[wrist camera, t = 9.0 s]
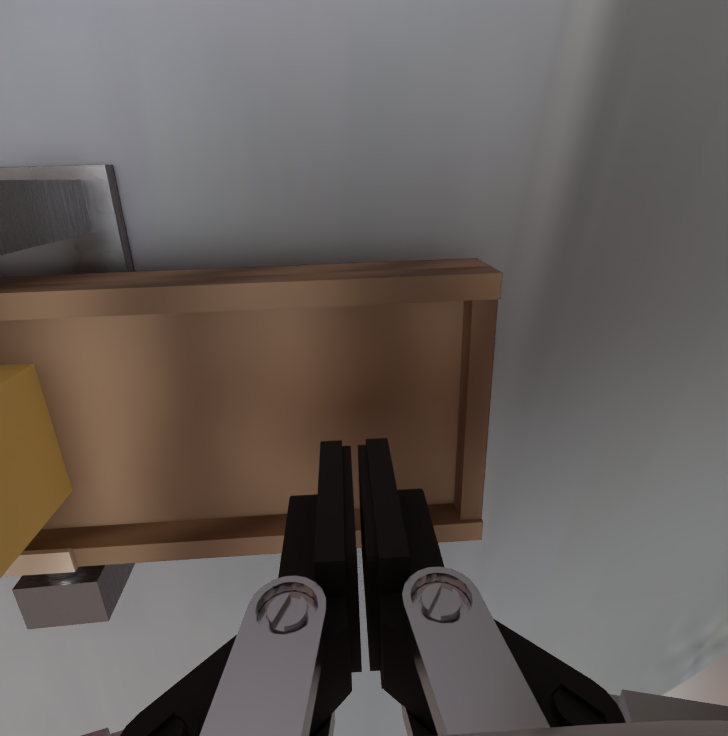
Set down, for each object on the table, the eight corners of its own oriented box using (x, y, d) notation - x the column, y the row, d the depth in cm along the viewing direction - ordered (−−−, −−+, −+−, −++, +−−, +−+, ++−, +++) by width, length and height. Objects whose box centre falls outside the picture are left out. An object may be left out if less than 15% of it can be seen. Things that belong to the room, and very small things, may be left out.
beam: (476, 256, 17) (504, 272, 14) (462, 494, 21) (483, 544, 18) (-507, 295, 16) (-691, 321, 13) (-331, 544, 19) (-443, 607, 16)
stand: (112, 165, 19) (8, 158, 13) (182, 510, 26) (137, 627, 19) (-19, 169, 19) (-198, 163, 12) (85, 519, 25) (4, 641, 19)
